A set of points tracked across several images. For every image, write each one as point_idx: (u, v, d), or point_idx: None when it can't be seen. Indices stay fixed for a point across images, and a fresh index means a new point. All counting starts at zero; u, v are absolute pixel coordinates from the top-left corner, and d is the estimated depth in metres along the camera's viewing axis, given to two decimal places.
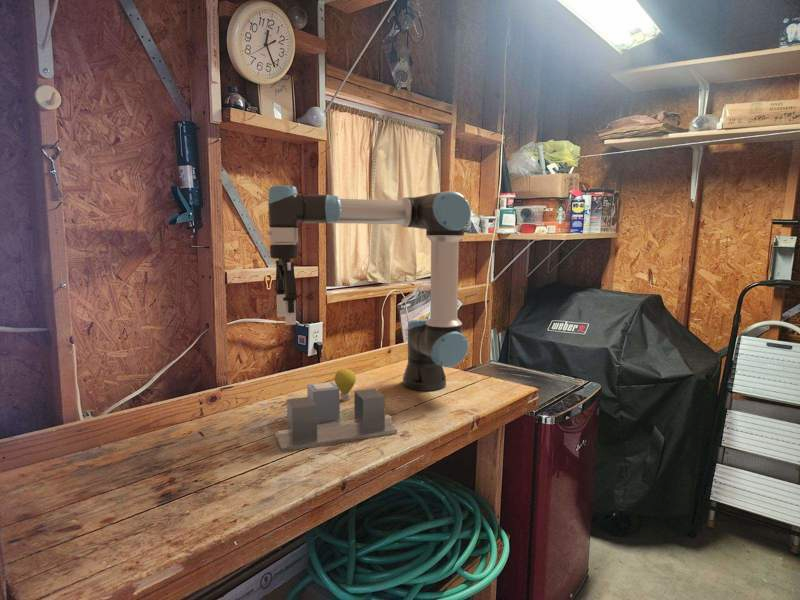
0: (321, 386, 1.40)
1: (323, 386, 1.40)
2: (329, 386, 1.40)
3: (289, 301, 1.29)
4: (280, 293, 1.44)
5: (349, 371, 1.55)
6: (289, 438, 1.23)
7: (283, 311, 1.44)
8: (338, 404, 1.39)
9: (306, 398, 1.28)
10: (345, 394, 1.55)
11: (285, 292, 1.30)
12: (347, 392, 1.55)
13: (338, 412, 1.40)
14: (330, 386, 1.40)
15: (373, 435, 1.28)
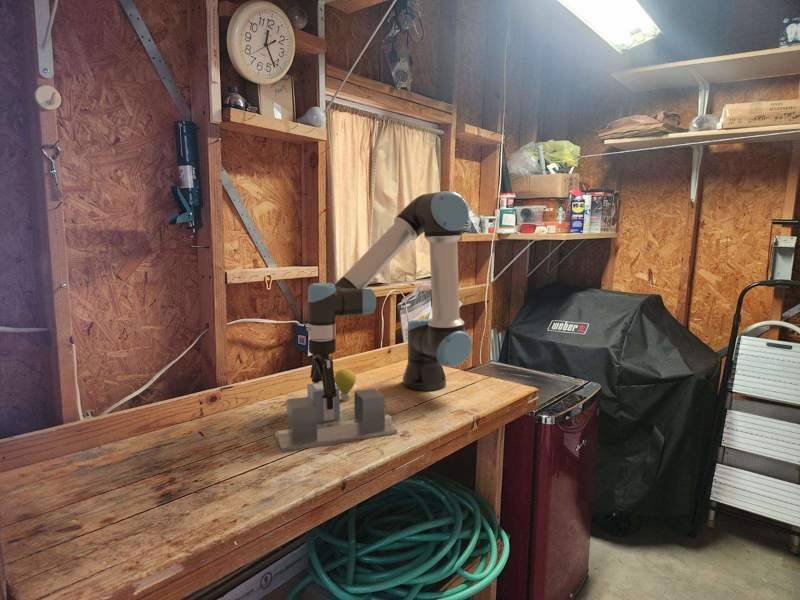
0: (321, 386, 1.40)
1: None
2: None
3: (328, 398, 1.33)
4: (316, 381, 1.47)
5: (349, 371, 1.55)
6: (289, 438, 1.23)
7: None
8: (338, 404, 1.39)
9: (306, 398, 1.28)
10: (345, 394, 1.55)
11: (324, 389, 1.34)
12: (347, 392, 1.55)
13: (338, 412, 1.40)
14: None
15: (373, 435, 1.28)
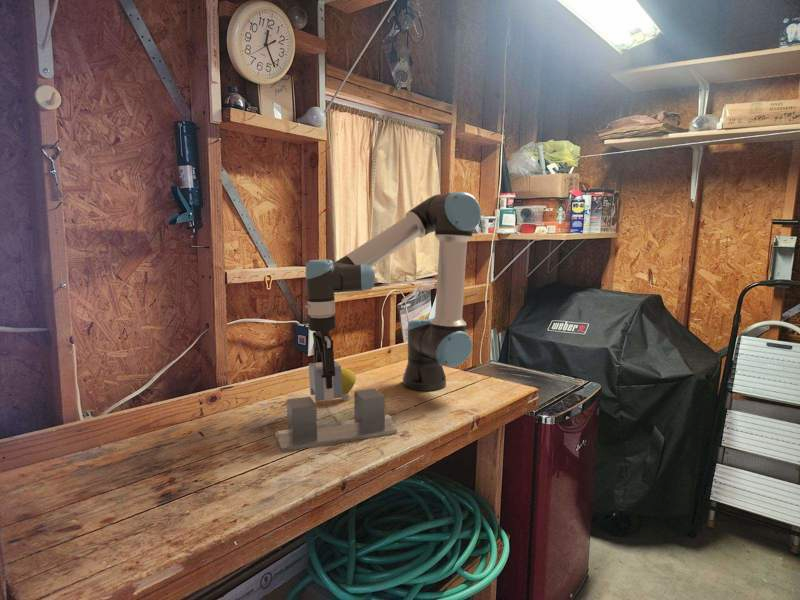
0: None
1: None
2: None
3: (327, 378, 1.35)
4: None
5: (349, 371, 1.55)
6: (289, 438, 1.23)
7: None
8: (340, 382, 1.39)
9: (306, 398, 1.28)
10: (345, 394, 1.55)
11: (324, 369, 1.35)
12: (347, 392, 1.55)
13: (340, 390, 1.39)
14: None
15: (373, 435, 1.28)
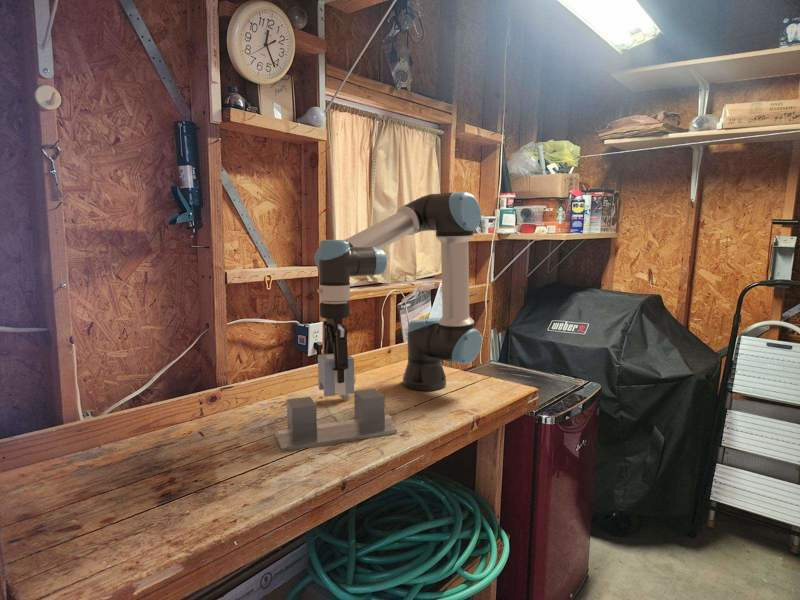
0: (333, 356, 1.26)
1: None
2: None
3: (339, 371, 1.21)
4: None
5: None
6: (289, 438, 1.23)
7: None
8: (352, 376, 1.25)
9: (306, 398, 1.28)
10: (345, 394, 1.55)
11: (335, 361, 1.22)
12: None
13: (352, 385, 1.25)
14: None
15: (373, 435, 1.28)
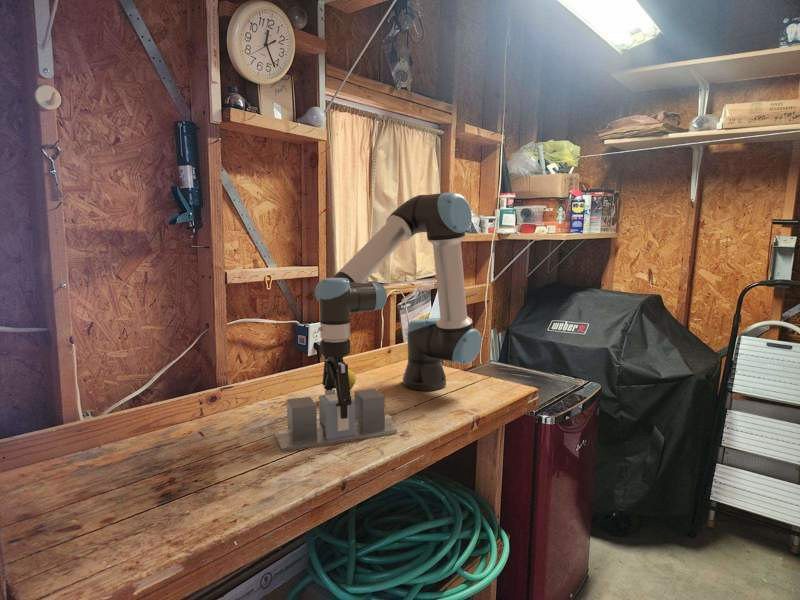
0: (334, 397, 1.28)
1: None
2: None
3: (342, 407, 1.21)
4: (329, 388, 1.34)
5: (349, 371, 1.55)
6: (289, 438, 1.23)
7: None
8: (353, 417, 1.27)
9: (306, 398, 1.28)
10: None
11: (338, 397, 1.21)
12: None
13: (353, 426, 1.27)
14: None
15: (373, 435, 1.28)
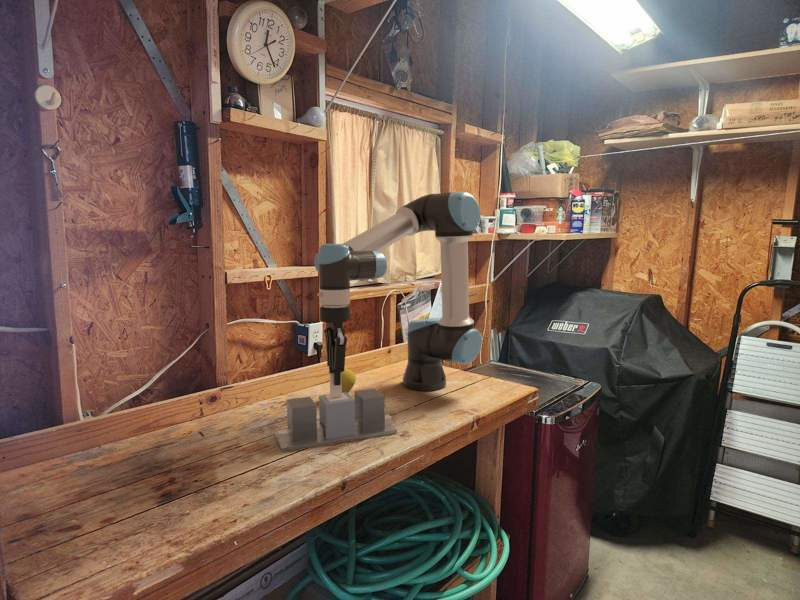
0: (334, 397, 1.28)
1: (337, 397, 1.27)
2: (343, 397, 1.27)
3: (336, 374, 1.25)
4: None
5: (349, 371, 1.55)
6: (289, 438, 1.23)
7: None
8: (353, 417, 1.27)
9: (306, 398, 1.28)
10: None
11: (332, 365, 1.25)
12: (347, 392, 1.55)
13: (353, 426, 1.27)
14: (345, 398, 1.27)
15: (373, 435, 1.28)
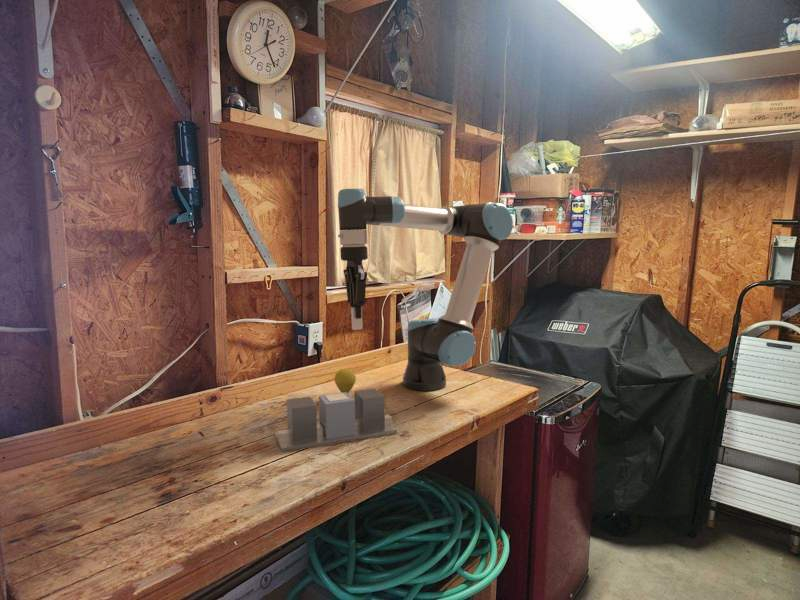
0: (334, 397, 1.28)
1: (337, 397, 1.27)
2: (343, 397, 1.27)
3: (357, 308, 1.38)
4: None
5: (349, 371, 1.55)
6: (289, 438, 1.23)
7: None
8: (353, 417, 1.27)
9: (306, 398, 1.28)
10: None
11: (354, 300, 1.38)
12: (347, 392, 1.55)
13: (353, 426, 1.27)
14: (345, 398, 1.27)
15: (373, 435, 1.28)
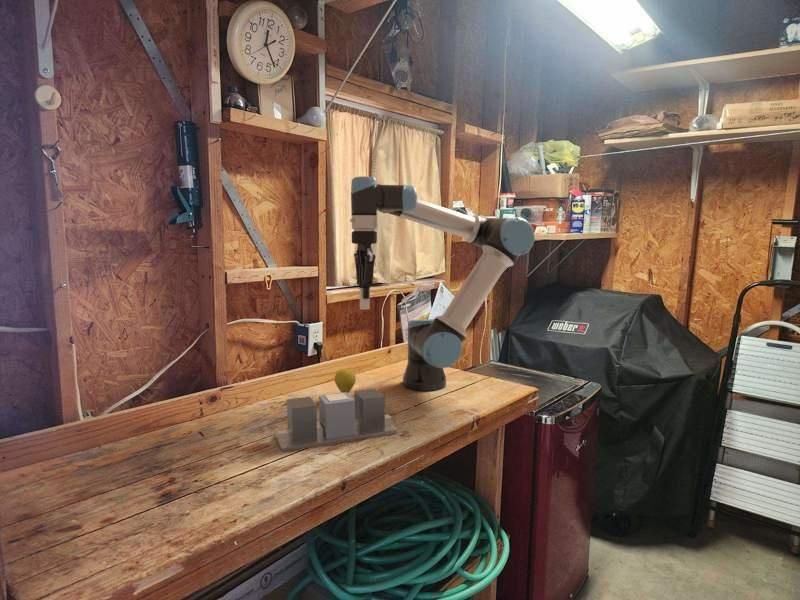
0: (334, 397, 1.28)
1: (337, 397, 1.27)
2: (343, 397, 1.27)
3: (365, 288, 1.47)
4: None
5: (349, 371, 1.55)
6: (289, 438, 1.23)
7: None
8: (353, 417, 1.27)
9: (306, 398, 1.28)
10: None
11: (362, 281, 1.47)
12: (347, 392, 1.55)
13: (353, 426, 1.27)
14: (345, 398, 1.27)
15: (373, 435, 1.28)
